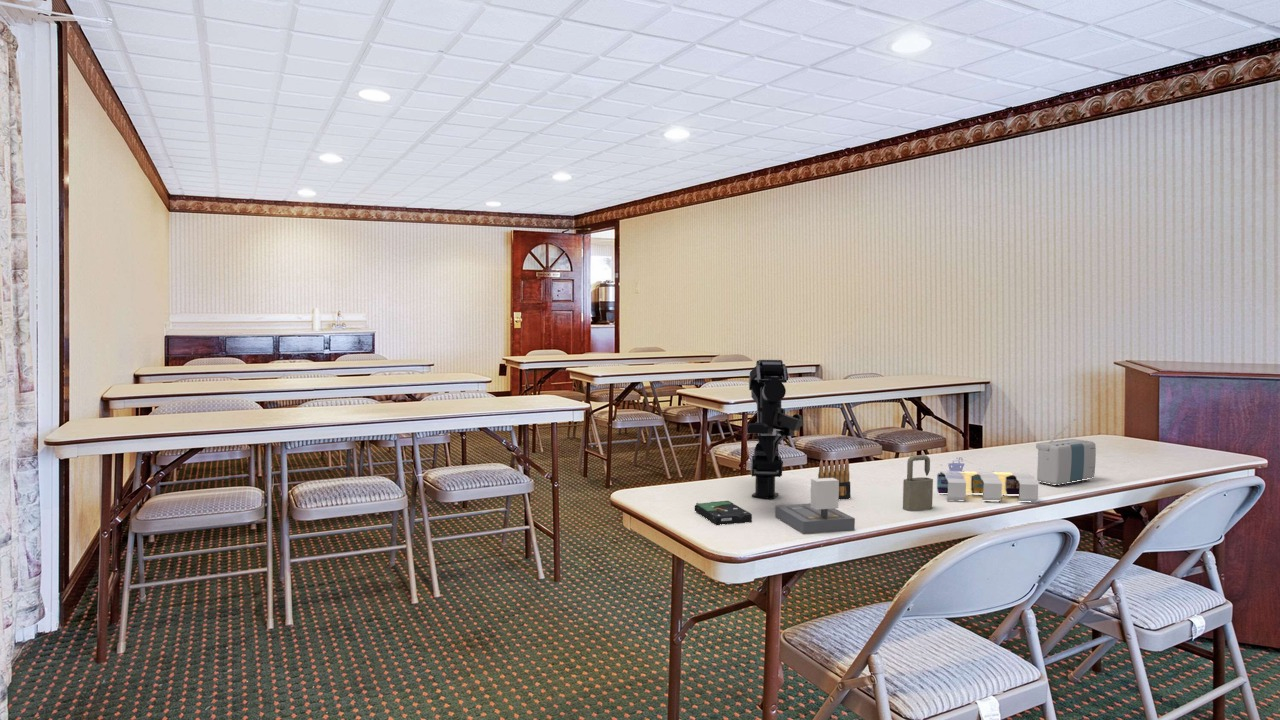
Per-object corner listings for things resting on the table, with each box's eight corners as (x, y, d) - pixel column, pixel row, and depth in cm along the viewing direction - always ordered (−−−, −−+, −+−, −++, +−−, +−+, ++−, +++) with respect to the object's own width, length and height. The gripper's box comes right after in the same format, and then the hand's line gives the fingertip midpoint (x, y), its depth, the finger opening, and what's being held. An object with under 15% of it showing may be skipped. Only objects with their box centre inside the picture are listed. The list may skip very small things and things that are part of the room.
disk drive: (752, 524, 191) (727, 509, 205) (753, 513, 191) (728, 499, 205) (716, 527, 188) (693, 512, 202) (716, 517, 188) (693, 502, 202)
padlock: (934, 509, 206) (935, 455, 205) (910, 511, 203) (912, 457, 202) (924, 505, 209) (925, 453, 209) (900, 508, 206) (902, 454, 206)
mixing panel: (775, 516, 196) (775, 505, 196) (822, 513, 200) (823, 502, 200) (803, 533, 181) (803, 521, 181) (854, 530, 185) (854, 517, 184)
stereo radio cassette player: (1057, 488, 233) (1059, 425, 231) (1032, 483, 240) (1034, 421, 239) (1096, 481, 243) (1098, 421, 242) (1071, 476, 250) (1073, 417, 249)
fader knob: (810, 515, 186) (811, 478, 185) (832, 513, 187) (832, 477, 187) (816, 518, 183) (816, 481, 182) (838, 516, 184) (838, 480, 184)
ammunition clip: (846, 497, 219) (847, 457, 218) (850, 498, 217) (851, 458, 216) (816, 500, 215) (816, 459, 214) (819, 501, 213) (820, 460, 212)
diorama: (947, 502, 214) (948, 457, 213) (936, 494, 224) (937, 451, 224) (1037, 505, 212) (1039, 460, 211) (1022, 496, 222) (1023, 453, 222)
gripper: (784, 401, 193) (784, 461, 191) (811, 406, 208) (811, 462, 206) (745, 402, 199) (745, 461, 197) (774, 407, 215) (774, 461, 212)
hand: (771, 461), depth 203 cm, fingers closed
